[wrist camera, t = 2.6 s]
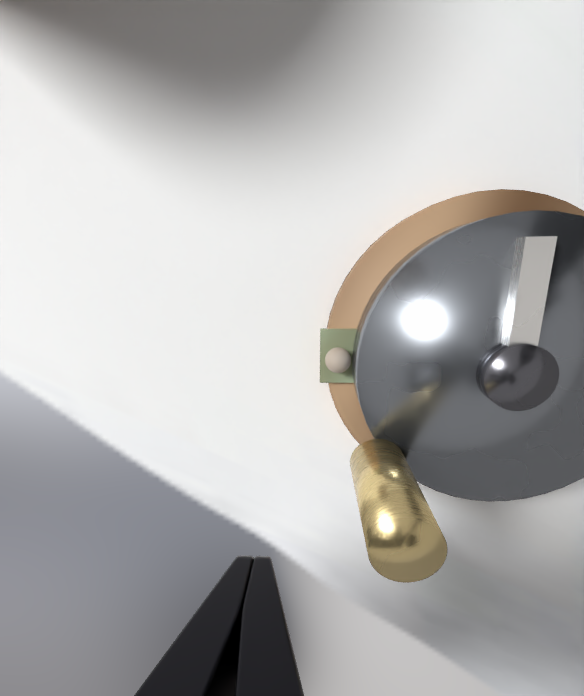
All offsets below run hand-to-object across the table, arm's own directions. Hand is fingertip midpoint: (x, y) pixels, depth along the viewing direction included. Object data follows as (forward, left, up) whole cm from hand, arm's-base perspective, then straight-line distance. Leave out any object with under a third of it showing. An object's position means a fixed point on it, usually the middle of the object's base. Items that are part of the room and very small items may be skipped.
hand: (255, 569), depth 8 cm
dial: (-7, -4, -5) cm, 10 cm away
